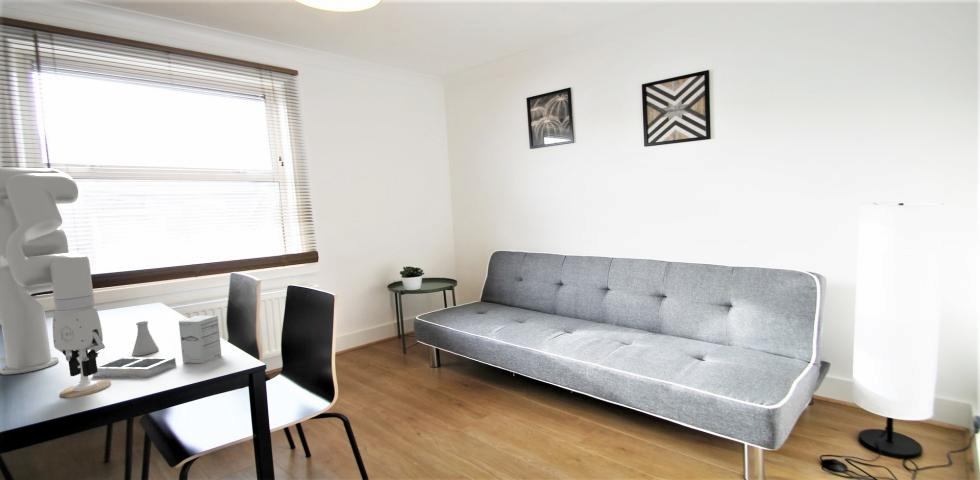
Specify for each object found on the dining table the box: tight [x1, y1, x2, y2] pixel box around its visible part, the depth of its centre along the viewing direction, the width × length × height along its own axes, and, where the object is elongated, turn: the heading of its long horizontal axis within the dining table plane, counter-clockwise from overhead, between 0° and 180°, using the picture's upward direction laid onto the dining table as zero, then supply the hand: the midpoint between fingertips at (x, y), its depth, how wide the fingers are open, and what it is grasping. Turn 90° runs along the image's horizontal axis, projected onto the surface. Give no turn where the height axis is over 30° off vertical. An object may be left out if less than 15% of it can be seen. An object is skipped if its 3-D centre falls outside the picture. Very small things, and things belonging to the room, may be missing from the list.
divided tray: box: [92, 356, 177, 378], centre depth 134 cm, size 18×9×2 cm, turn 80°
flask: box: [131, 320, 160, 357], centre depth 151 cm, size 7×7×10 cm
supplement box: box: [178, 315, 222, 364], centre depth 141 cm, size 7×7×13 cm
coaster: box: [59, 379, 112, 399], centre depth 121 cm, size 10×10×1 cm
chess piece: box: [73, 350, 98, 391], centre depth 121 cm, size 5×5×10 cm
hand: (84, 373), depth 121 cm, fingers open, 3 cm apart
